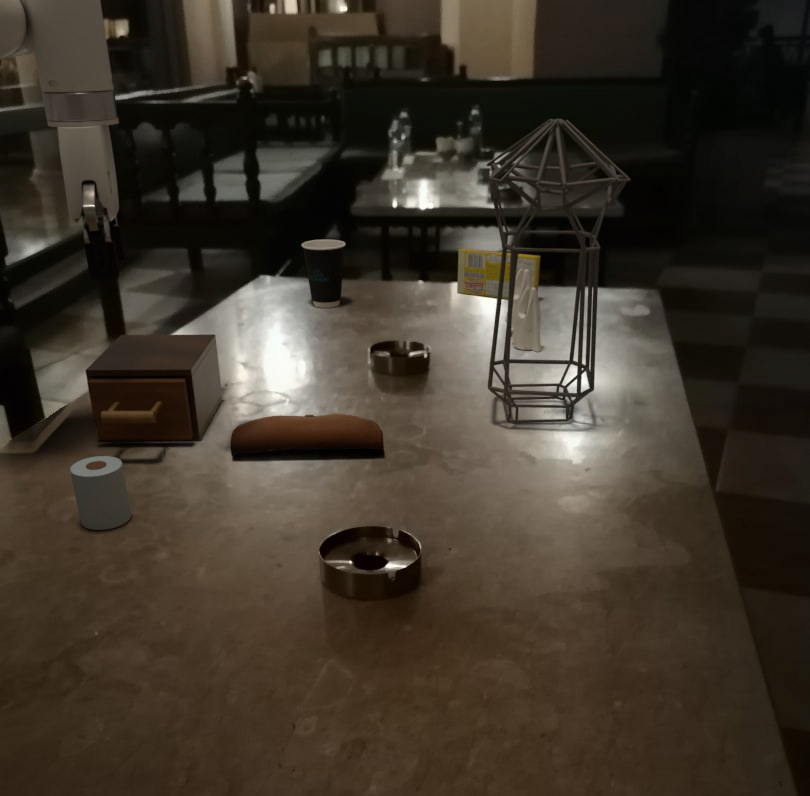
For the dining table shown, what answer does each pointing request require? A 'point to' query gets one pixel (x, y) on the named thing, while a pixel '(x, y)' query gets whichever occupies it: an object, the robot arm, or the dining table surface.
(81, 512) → the paper roll
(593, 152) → the geometric lantern
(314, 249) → the dixie cup
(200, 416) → the cabinet
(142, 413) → the drawer
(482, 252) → the candy box
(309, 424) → the sunglasses case
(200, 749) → the dining table surface
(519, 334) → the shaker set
